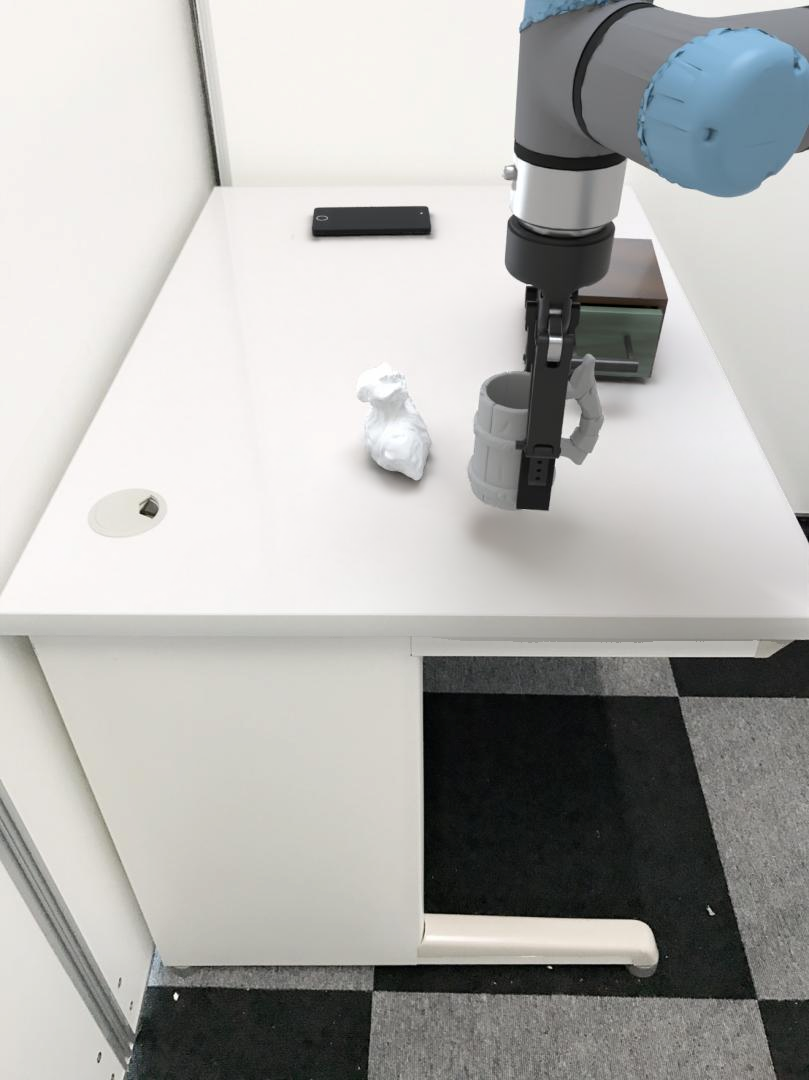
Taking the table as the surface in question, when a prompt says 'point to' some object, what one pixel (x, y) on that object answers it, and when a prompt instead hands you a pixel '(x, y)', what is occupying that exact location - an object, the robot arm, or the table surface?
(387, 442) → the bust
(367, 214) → the cell phone
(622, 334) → the drawer
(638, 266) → the cabinet
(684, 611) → the table surface
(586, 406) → the mug
